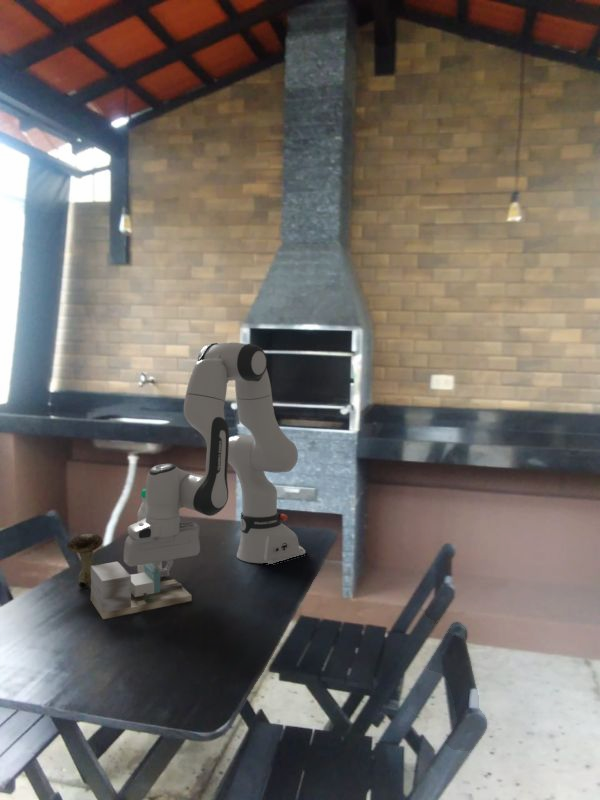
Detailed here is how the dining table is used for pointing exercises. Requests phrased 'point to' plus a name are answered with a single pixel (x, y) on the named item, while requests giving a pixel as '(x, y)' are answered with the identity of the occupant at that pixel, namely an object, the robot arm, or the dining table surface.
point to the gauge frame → (129, 592)
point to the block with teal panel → (145, 582)
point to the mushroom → (85, 555)
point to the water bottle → (141, 516)
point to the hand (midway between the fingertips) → (162, 576)
